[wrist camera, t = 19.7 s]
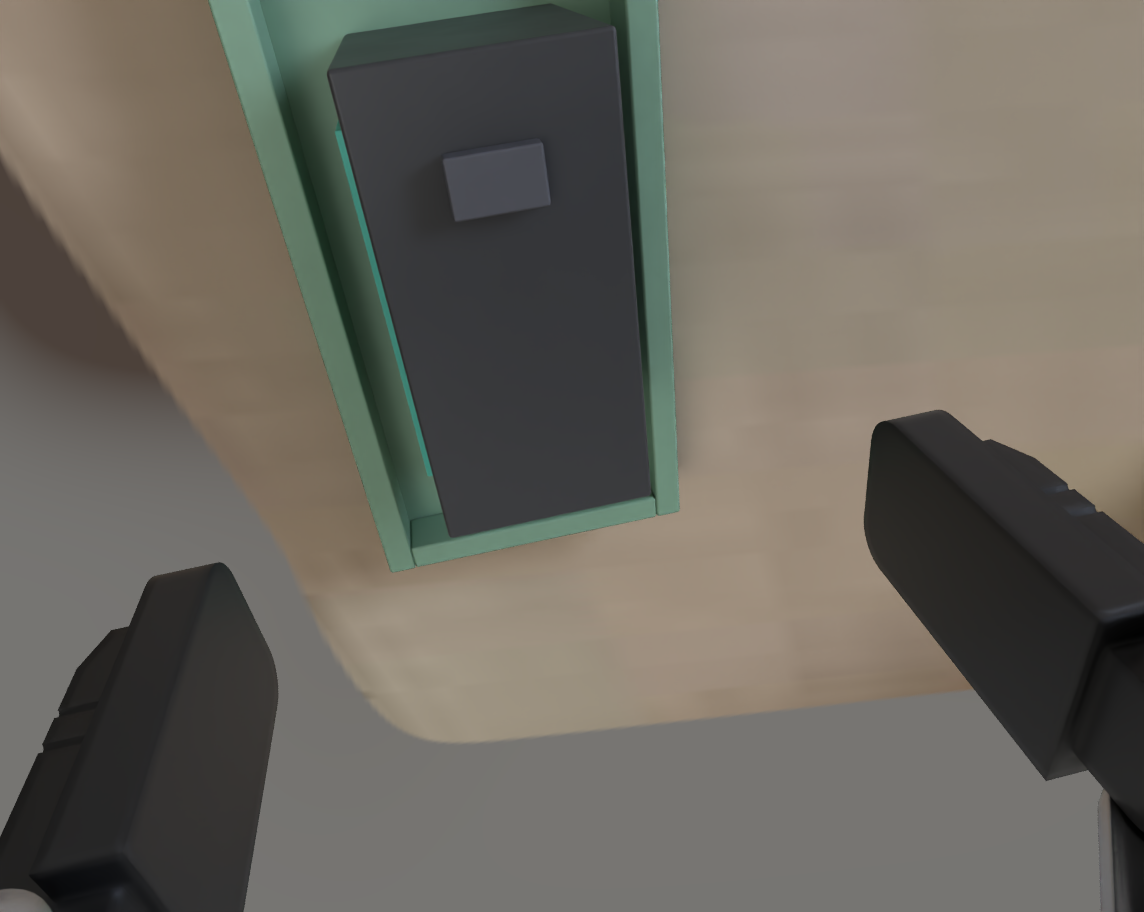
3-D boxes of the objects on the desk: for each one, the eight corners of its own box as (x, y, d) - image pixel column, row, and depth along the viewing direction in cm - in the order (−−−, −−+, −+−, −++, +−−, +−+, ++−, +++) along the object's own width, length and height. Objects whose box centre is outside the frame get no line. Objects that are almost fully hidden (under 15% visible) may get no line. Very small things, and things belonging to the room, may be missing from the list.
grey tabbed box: (428, 411, 21) (440, 554, 16) (333, 36, 16) (308, 75, 11) (595, 378, 22) (657, 507, 17) (553, 2, 17) (623, 27, 12)
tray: (618, -278, 15) (646, -305, 13) (661, 476, 24) (680, 512, 23) (156, -228, 14) (126, -250, 12) (390, 532, 24) (391, 573, 22)
